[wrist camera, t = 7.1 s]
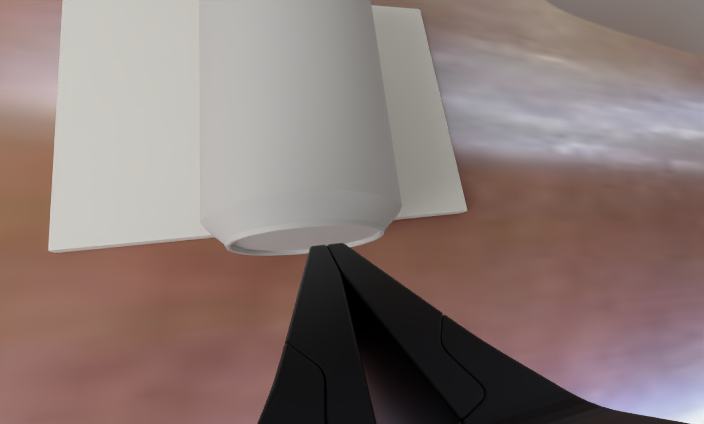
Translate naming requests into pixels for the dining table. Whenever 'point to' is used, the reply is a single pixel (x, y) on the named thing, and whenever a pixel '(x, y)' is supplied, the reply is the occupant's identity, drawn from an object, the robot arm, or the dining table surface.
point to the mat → (184, 123)
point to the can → (293, 126)
